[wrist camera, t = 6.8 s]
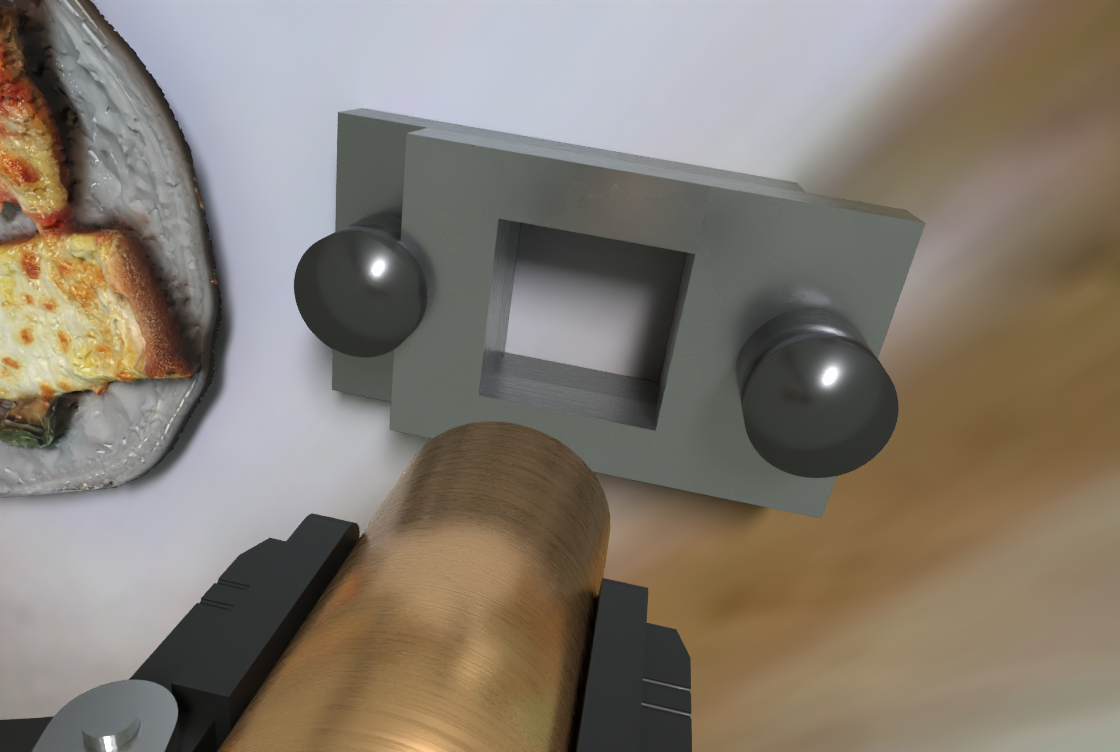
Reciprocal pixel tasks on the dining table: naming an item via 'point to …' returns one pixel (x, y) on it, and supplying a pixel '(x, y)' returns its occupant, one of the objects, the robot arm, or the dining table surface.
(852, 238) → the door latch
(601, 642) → the robot arm
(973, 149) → the dining table surface
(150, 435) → the food plate
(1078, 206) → the dining table surface
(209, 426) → the dining table surface
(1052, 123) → the dining table surface
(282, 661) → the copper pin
